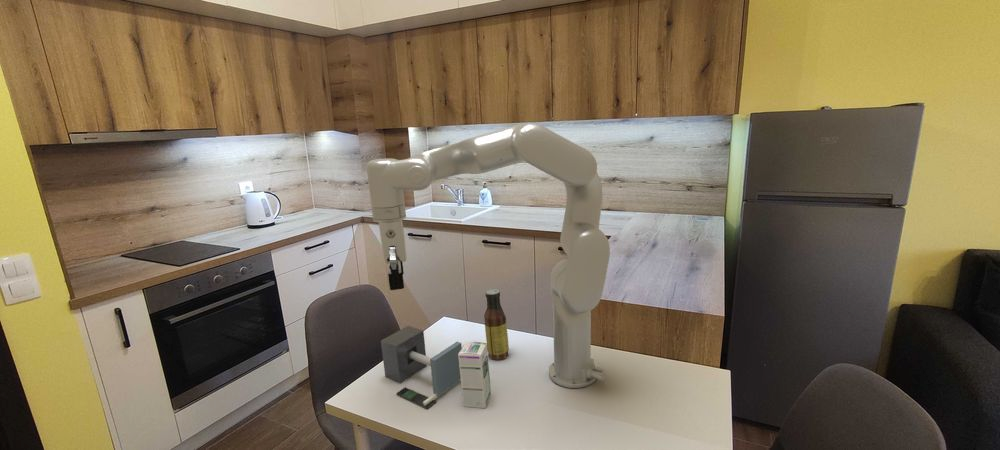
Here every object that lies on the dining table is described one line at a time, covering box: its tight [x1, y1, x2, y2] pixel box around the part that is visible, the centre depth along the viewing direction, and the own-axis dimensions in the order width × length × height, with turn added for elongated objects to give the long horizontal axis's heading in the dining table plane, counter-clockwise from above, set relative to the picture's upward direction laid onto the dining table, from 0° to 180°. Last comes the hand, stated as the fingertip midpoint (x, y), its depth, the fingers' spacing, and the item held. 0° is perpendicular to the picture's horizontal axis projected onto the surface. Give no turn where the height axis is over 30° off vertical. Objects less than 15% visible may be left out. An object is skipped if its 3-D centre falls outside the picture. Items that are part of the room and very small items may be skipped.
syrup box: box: [458, 341, 492, 409], centre depth 107 cm, size 6×6×14 cm
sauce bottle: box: [483, 289, 510, 361], centre depth 127 cm, size 7×6×20 cm
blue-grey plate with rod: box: [407, 341, 463, 405], centre depth 115 cm, size 15×14×10 cm
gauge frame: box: [380, 325, 437, 410], centre depth 117 cm, size 20×14×11 cm
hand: (397, 281), depth 107 cm, fingers open, 9 cm apart
